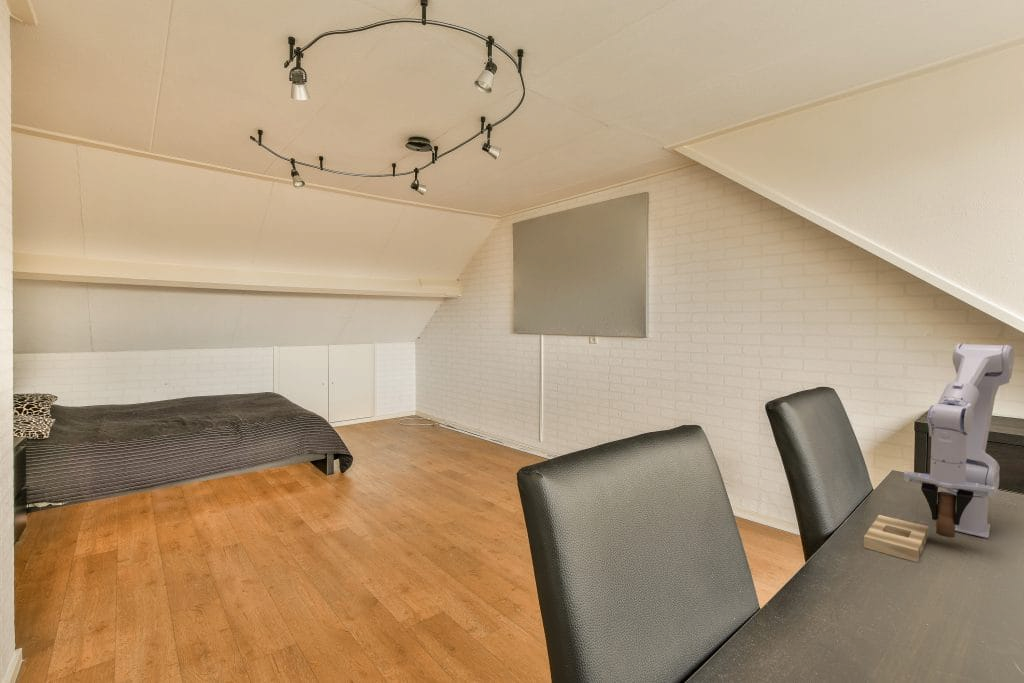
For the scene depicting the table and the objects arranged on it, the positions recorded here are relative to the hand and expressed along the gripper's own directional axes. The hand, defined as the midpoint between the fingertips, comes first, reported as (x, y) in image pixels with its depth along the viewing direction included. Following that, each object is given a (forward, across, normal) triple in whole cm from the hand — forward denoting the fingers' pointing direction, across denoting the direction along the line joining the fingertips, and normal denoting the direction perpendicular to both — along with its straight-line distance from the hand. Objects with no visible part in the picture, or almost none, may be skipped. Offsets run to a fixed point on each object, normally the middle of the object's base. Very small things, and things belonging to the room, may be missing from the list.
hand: (945, 521), depth 106 cm
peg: (+3, 0, 0) cm, 3 cm away
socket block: (+5, -8, -6) cm, 11 cm away
